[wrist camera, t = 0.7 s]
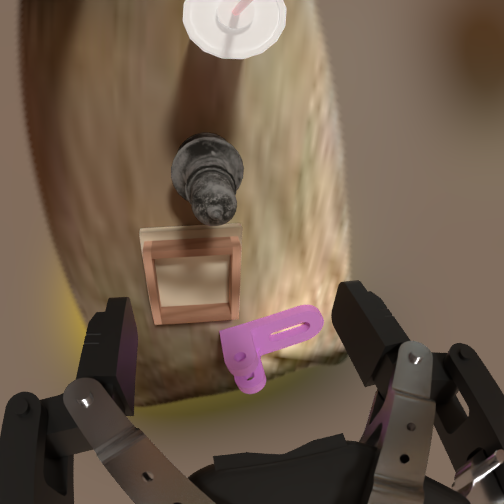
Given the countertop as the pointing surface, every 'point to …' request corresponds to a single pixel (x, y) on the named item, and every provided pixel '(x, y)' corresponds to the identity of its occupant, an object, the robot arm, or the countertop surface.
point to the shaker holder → (193, 272)
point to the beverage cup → (234, 25)
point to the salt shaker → (208, 177)
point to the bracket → (265, 342)
